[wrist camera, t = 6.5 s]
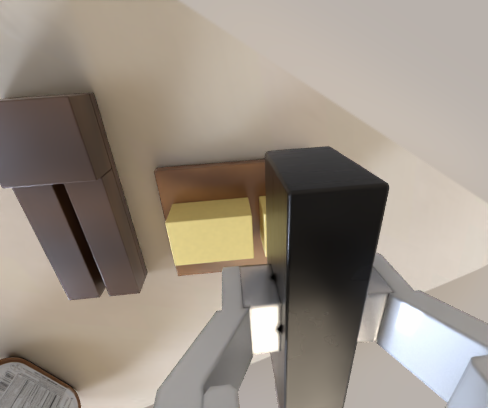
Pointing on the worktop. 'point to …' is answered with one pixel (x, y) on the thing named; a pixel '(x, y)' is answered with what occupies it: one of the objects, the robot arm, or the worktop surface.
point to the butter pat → (263, 222)
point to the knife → (319, 267)
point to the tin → (32, 387)
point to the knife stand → (71, 192)
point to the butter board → (215, 198)
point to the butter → (210, 231)
